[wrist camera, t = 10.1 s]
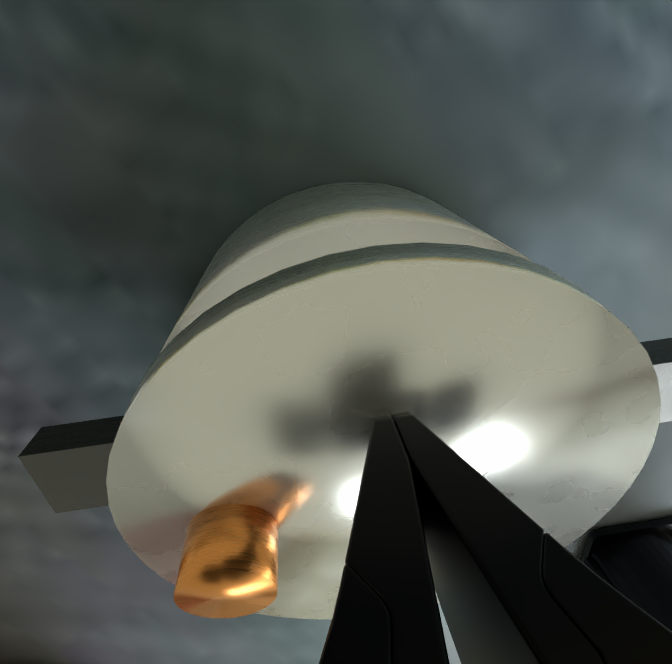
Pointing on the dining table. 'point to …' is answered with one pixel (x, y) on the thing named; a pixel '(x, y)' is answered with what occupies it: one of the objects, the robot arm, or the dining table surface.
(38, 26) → the dining table surface
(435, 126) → the dining table surface
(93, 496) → the cooker pot
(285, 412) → the cooker lid
